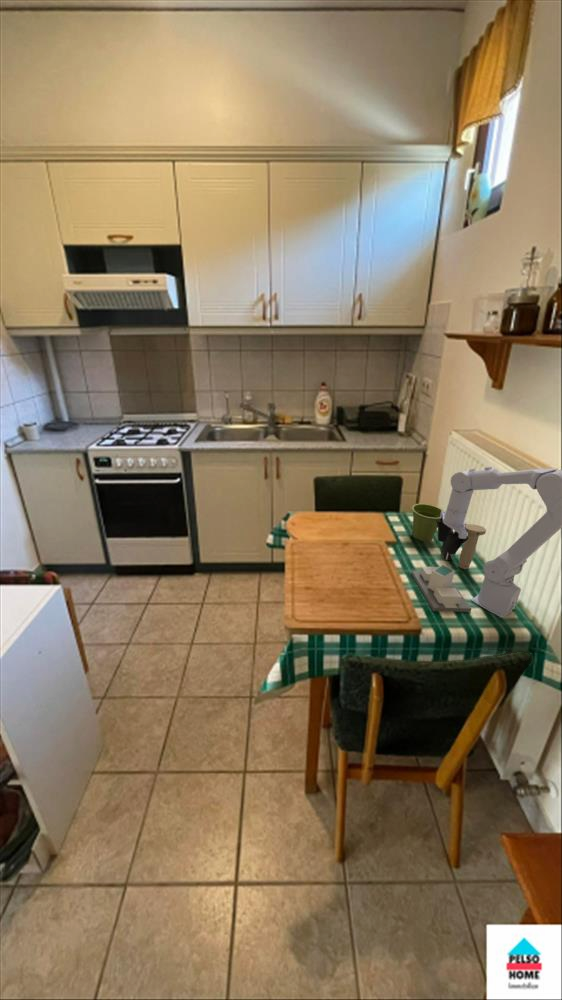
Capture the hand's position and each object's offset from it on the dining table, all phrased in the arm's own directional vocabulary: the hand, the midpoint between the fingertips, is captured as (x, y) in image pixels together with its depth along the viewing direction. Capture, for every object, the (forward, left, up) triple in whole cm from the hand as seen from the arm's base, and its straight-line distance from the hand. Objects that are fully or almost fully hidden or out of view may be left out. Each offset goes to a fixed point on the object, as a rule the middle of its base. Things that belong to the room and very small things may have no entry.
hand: (446, 547), depth 133 cm
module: (-6, +10, -8) cm, 14 cm away
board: (-6, +10, -9) cm, 15 cm away
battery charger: (+4, -12, -10) cm, 16 cm away
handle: (-3, -10, -10) cm, 14 cm away
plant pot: (+17, -16, -10) cm, 25 cm away
